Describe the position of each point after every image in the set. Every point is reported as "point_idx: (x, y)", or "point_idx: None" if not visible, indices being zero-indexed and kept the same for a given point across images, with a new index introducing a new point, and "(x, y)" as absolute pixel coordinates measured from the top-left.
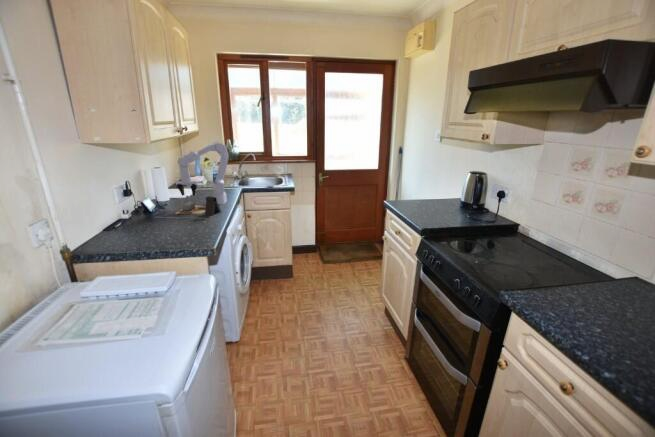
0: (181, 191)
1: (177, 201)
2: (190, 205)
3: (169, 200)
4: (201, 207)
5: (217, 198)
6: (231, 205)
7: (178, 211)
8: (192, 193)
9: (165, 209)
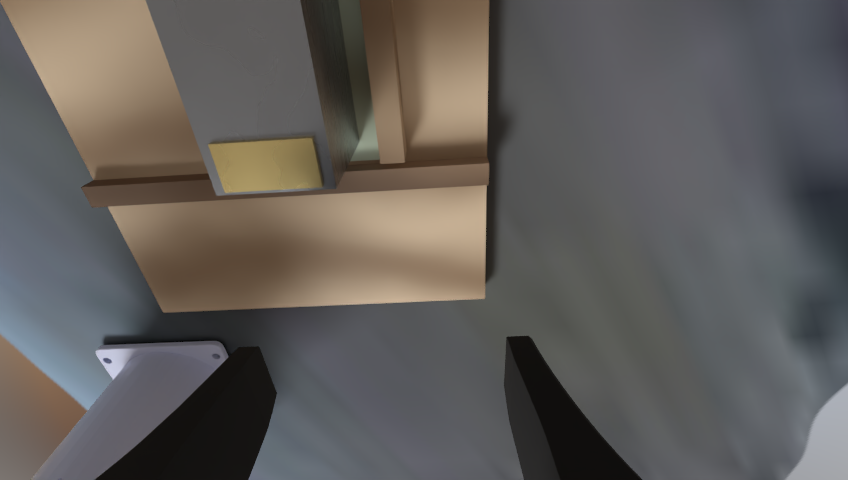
0: (539, 418)
1: (707, 422)
2: (166, 16)
3: (806, 439)
4: (260, 245)
5: (100, 424)
6: (46, 370)
7: (482, 4)
8: (223, 384)
9: (772, 155)
